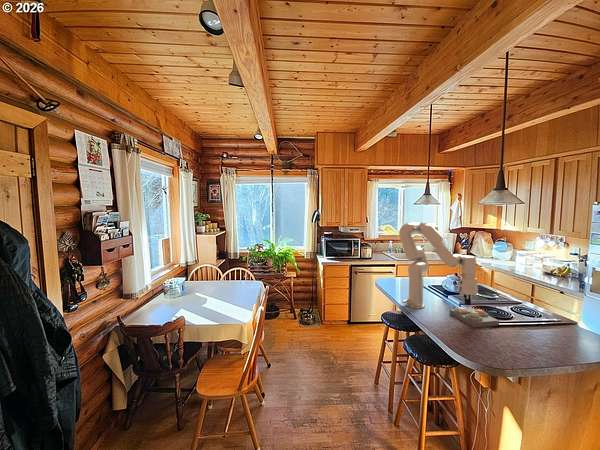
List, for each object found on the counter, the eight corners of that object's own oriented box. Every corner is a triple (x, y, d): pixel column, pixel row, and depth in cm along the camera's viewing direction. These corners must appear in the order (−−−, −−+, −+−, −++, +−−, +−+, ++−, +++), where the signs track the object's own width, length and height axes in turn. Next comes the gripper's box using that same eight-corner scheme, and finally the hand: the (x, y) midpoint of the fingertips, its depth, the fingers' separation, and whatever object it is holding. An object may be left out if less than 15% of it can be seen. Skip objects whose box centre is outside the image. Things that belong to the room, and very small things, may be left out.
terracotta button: (479, 315, 167) (479, 312, 167) (473, 313, 172) (474, 309, 171) (485, 315, 168) (485, 311, 168) (480, 312, 172) (480, 309, 172)
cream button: (461, 313, 171) (461, 309, 171) (456, 310, 175) (456, 307, 175) (467, 313, 172) (467, 309, 171) (462, 310, 176) (462, 306, 176)
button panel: (473, 327, 158) (473, 320, 158) (449, 314, 178) (450, 307, 178) (499, 325, 161) (499, 318, 160) (472, 312, 180) (473, 306, 180)
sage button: (473, 317, 161) (473, 314, 161) (467, 315, 165) (468, 311, 165) (480, 317, 162) (480, 313, 161) (474, 314, 166) (474, 310, 166)
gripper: (462, 277, 163) (461, 307, 164) (483, 276, 165) (483, 305, 166) (453, 274, 170) (452, 303, 171) (474, 273, 173) (473, 301, 174)
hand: (467, 304), depth 169 cm, fingers closed
